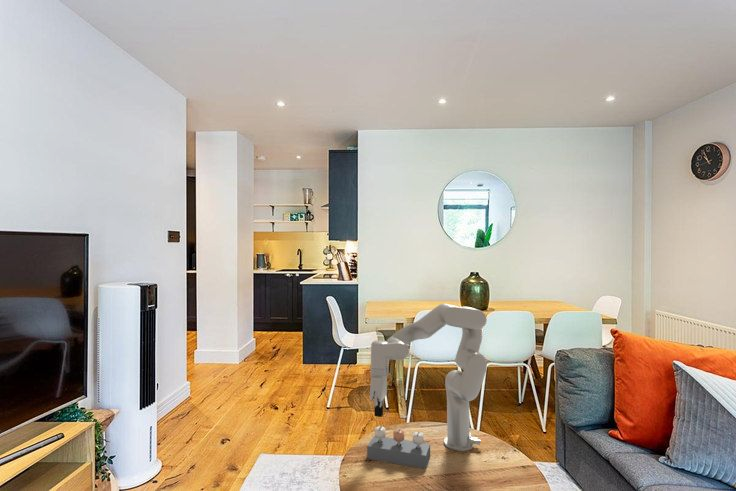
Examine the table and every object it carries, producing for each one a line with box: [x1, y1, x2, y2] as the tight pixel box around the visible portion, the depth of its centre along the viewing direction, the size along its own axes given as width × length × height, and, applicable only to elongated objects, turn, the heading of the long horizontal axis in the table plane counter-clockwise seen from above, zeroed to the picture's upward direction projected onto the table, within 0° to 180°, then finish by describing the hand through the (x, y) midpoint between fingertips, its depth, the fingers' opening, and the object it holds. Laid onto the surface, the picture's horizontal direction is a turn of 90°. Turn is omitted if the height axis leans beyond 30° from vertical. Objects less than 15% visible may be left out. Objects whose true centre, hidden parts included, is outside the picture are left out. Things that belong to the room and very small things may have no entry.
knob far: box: [374, 425, 386, 443], centre depth 160 cm, size 4×4×6 cm
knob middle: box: [392, 428, 405, 446], centre depth 157 cm, size 4×4×6 cm
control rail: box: [366, 434, 431, 470], centre depth 157 cm, size 24×10×5 cm, turn 71°
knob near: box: [412, 431, 425, 449], centre depth 154 cm, size 4×4×6 cm
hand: (378, 415), depth 160 cm, fingers closed
